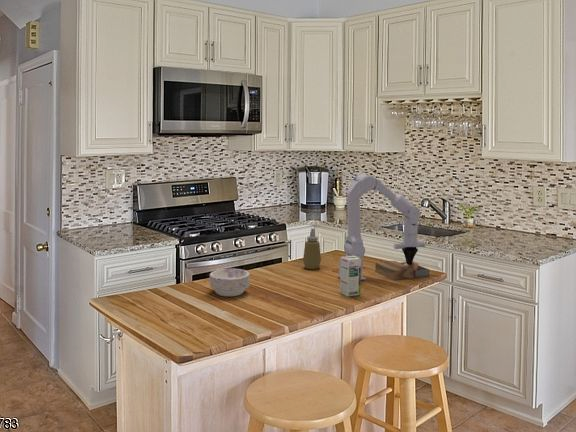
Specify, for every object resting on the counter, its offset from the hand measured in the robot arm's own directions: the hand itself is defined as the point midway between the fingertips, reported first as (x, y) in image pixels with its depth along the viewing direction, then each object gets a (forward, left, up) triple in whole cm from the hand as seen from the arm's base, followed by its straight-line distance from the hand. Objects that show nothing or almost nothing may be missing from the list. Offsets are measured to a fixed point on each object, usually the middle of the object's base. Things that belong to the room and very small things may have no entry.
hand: (409, 264), depth 247 cm
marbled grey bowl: (-80, 0, -5) cm, 80 cm away
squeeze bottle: (-35, +25, -5) cm, 43 cm away
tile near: (+1, 0, -2) cm, 2 cm away
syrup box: (-37, -16, -5) cm, 41 cm away
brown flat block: (-5, +3, -5) cm, 8 cm away
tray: (+4, +3, -5) cm, 7 cm away
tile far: (+4, +6, -2) cm, 8 cm away
